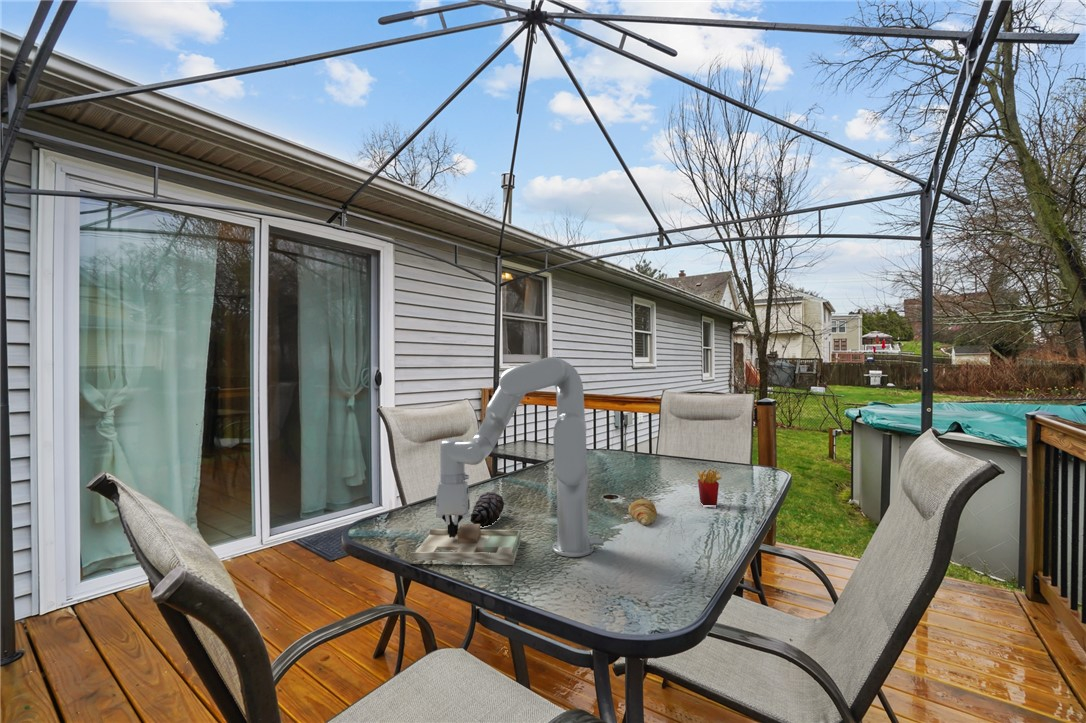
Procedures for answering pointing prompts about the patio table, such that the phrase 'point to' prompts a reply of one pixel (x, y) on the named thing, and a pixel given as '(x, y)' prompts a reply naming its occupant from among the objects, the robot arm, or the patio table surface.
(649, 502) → the croissant
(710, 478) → the french fries
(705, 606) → the patio table surface
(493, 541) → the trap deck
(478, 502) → the pine cone
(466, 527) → the walnut block
